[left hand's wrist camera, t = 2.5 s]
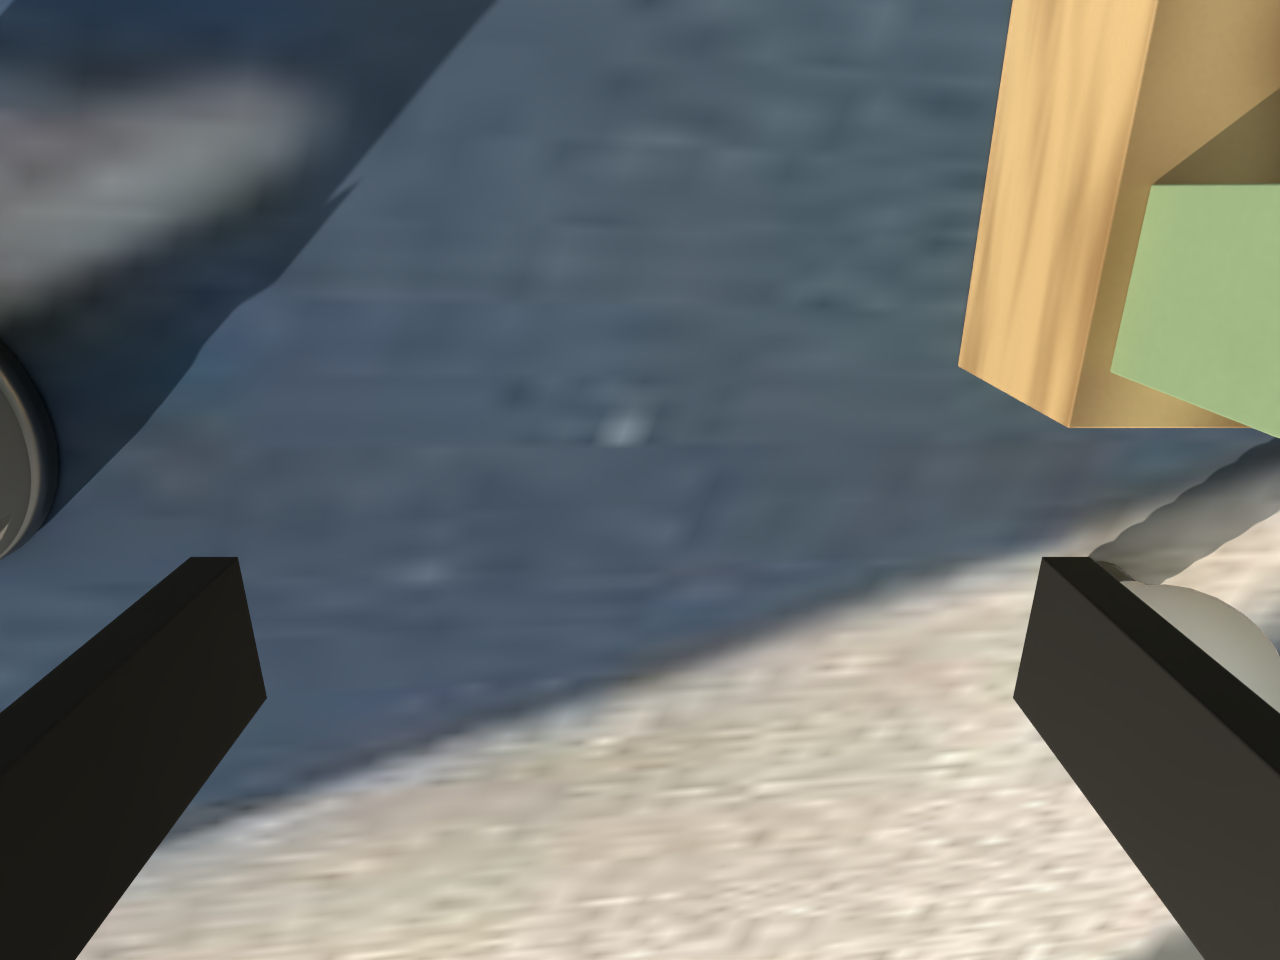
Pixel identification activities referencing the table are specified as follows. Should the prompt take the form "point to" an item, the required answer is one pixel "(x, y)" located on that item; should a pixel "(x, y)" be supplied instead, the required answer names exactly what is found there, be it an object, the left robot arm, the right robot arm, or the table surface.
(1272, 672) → the light bulb
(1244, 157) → the plank
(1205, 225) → the cap block
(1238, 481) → the table surface
